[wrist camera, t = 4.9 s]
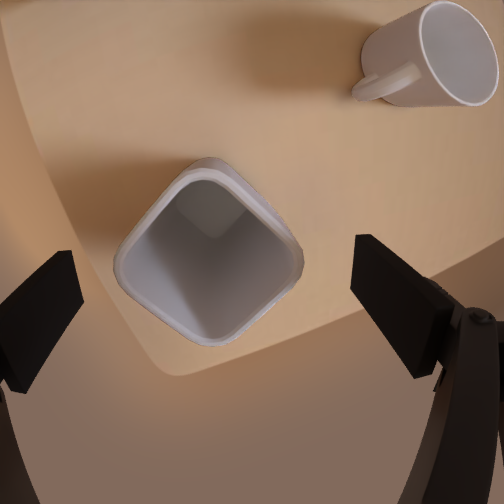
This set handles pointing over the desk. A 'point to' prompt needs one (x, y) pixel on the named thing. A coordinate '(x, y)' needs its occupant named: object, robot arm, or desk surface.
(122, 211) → the desk surface
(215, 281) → the cup
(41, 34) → the desk surface
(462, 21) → the mug
